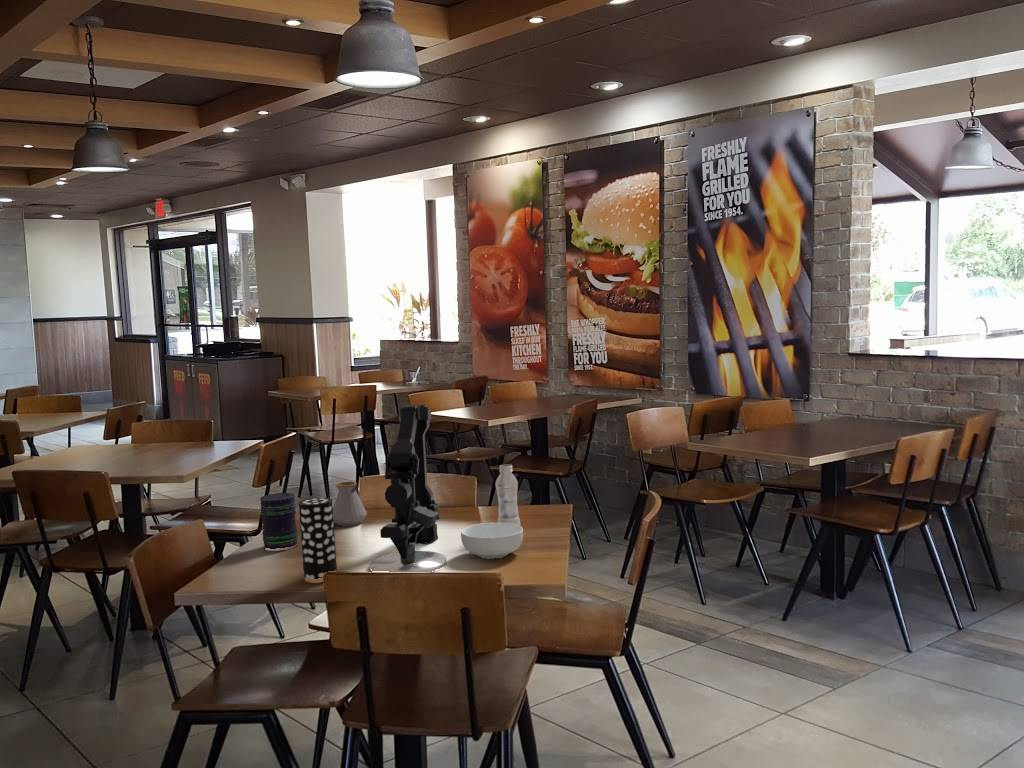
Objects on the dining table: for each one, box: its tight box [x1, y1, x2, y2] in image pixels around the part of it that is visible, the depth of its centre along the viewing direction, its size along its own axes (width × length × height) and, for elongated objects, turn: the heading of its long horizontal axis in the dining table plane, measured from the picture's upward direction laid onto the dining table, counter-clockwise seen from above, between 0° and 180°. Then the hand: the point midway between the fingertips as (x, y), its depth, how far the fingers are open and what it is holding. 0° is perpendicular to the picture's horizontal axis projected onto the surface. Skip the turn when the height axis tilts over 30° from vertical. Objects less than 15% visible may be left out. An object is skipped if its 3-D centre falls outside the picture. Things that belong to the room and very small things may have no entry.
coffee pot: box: [332, 481, 368, 527], centre depth 285 cm, size 21×12×15 cm, turn 23°
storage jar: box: [259, 492, 299, 549], centre depth 265 cm, size 10×10×15 cm
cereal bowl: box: [460, 522, 524, 560], centre depth 246 cm, size 17×17×7 cm
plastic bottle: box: [495, 463, 521, 526], centre depth 268 cm, size 6×7×20 cm
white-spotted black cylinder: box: [297, 497, 338, 579], centre depth 231 cm, size 8×8×20 cm
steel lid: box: [369, 541, 448, 572], centre depth 240 cm, size 20×20×6 cm
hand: (408, 556), depth 240 cm, fingers closed on steel lid, 4 cm apart
